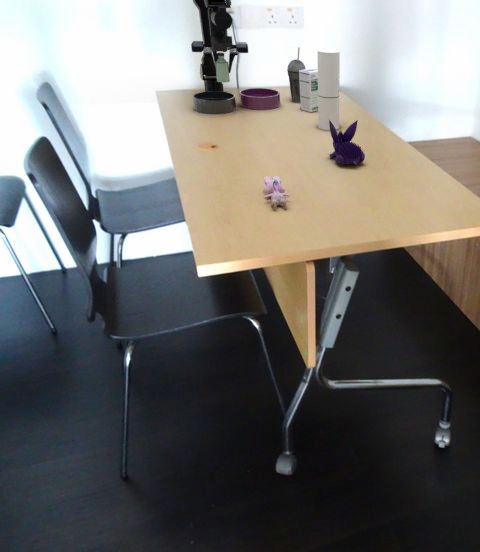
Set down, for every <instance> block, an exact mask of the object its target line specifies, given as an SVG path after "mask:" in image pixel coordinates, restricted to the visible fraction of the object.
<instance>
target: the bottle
mask: <svg viewBox="0 0 480 552" xmlns="http://www.w3.org/2000/svg"><path fill="white" fill-rule="evenodd" d="M217 53H218V58H219V59H217V61H216V62H215V66H216V75H217V82H222V83H229V82H230V81H231V80H230V79H231V78H230V77H231V76H230V73H229V61H227V59H226V58H225V52H217Z"/></svg>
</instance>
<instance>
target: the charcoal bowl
mask: <svg viewBox="0 0 480 552" xmlns="http://www.w3.org/2000/svg"><path fill="white" fill-rule="evenodd" d="M192 102H193V110H194V111H195V112H197V113H199V114H200V113H201V114H206V115H223V114H230V113H234V112H235V111H236V110H237V98H236V94H234V93H232V92H230V91H224V92H223V91H205V90H204V91H199V92H196V93H194V94H193V95H192Z"/></svg>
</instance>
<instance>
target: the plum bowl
mask: <svg viewBox="0 0 480 552" xmlns="http://www.w3.org/2000/svg"><path fill="white" fill-rule="evenodd" d="M238 94H239V105H240V107H241V108H243V109H246V110H253V111H268V110H275V109H278V108H279V107H281V93H280V91H279V90H277V89H273V88H266V87H252V88H244V89H242V90H240V91H239V93H238Z"/></svg>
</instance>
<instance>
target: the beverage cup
mask: <svg viewBox="0 0 480 552" xmlns="http://www.w3.org/2000/svg"><path fill="white" fill-rule="evenodd" d="M297 47H298V48H297V58H296V59H292V60H291V61H290V62H288V65H287V70H286V72H287V76H288V81H289V82H288V83H289V89H290V97H291V102H292V103H297V104H299V103H300V81H299V70H304V69H307V68H306V65H305V64H304V62H303V61H302V60H300V49H301V48H300V47H299V46H297Z"/></svg>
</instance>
